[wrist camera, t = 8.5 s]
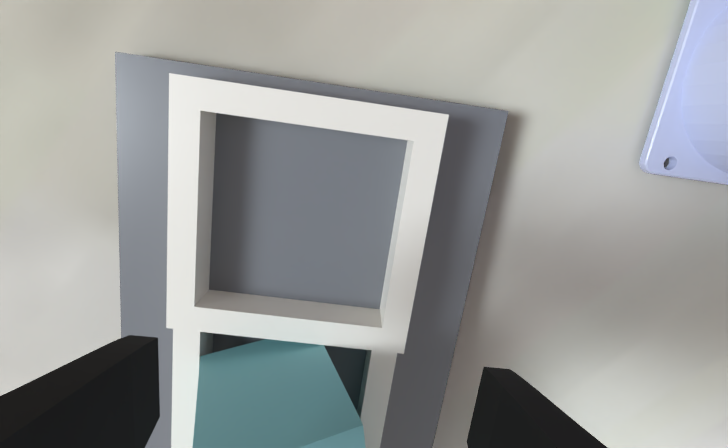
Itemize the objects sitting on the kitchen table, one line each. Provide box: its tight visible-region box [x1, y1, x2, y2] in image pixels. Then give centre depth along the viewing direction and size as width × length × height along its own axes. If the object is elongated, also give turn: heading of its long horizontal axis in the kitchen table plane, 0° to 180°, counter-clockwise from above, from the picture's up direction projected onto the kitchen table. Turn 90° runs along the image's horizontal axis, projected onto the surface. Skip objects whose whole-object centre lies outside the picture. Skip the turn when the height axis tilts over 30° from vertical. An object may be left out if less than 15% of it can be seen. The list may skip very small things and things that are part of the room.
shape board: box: [115, 52, 508, 448], centre depth 16 cm, size 14×21×2 cm, turn 172°
